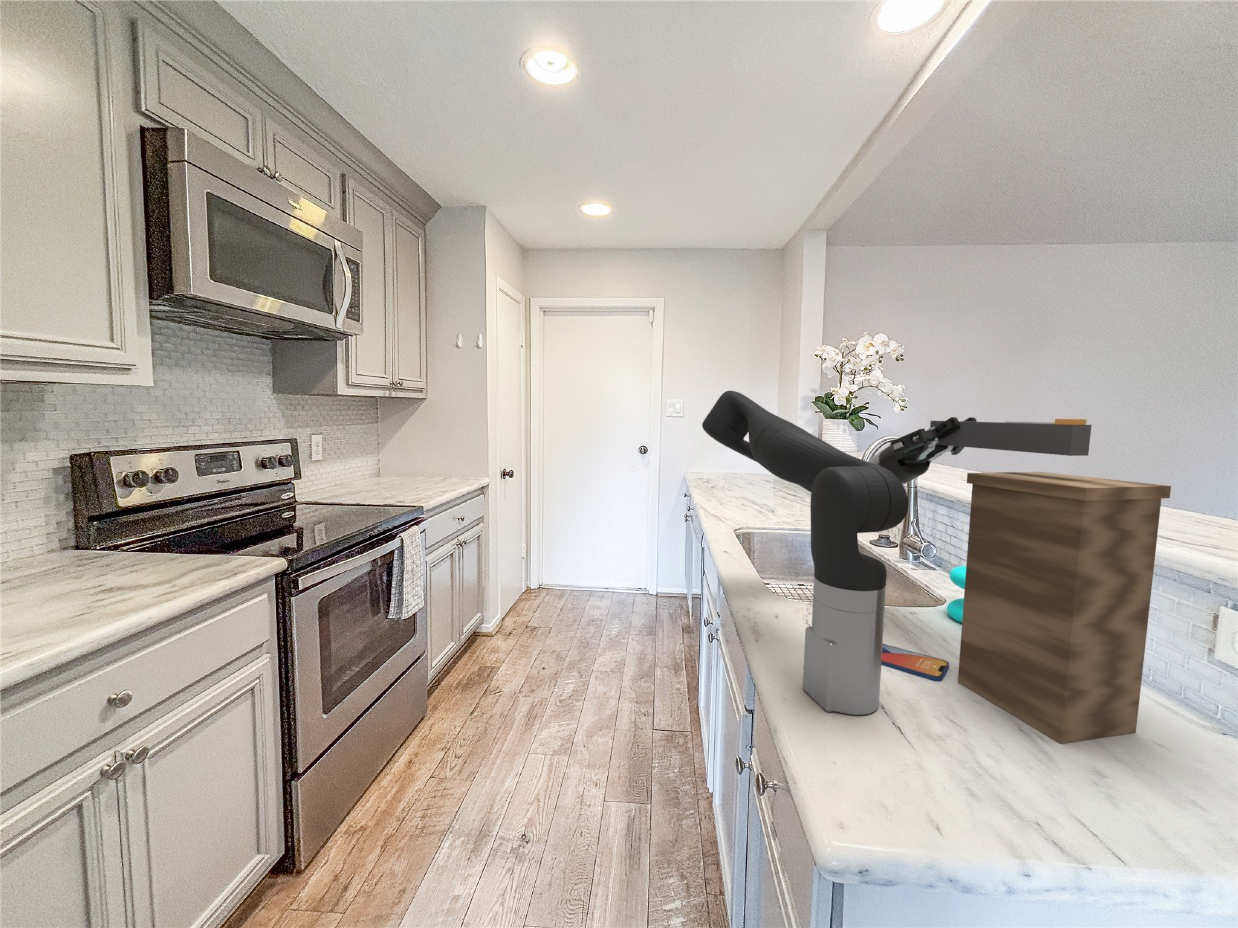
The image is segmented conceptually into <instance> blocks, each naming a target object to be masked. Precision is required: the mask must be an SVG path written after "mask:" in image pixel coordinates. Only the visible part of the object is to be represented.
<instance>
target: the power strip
mask: <svg viewBox="0 0 1238 928" xmlns="http://www.w3.org/2000/svg"><path fill="white" fill-rule="evenodd" d="M945 421H946V420H930V424H929V425H930V426H929V428H931V427H937V426H938V425H940V424H941V423H943V422H945ZM1087 421H1088V420H1087V418H1086V419H1084V418H1083V419H1082V418H1055V419H1054V421H1053V422H1052V421H1051V422H1050V421H1049V422H1048V421H1047V422H1045V421H1041V422H1040V421H1009V420H1008V421H1007V420H1006V421H1005V422H1004V421H1002V422H1000V421H999V422H998V421H977V422H969V421H964V420H962V421H961V420H958V422H959V425H960V429H959V430H957V431H955V432H954V433H952V434H950V435H949V436H947V437H946V438H944V439H941V441H940V442H938V443H937V444H936V445H948V446H960V447H964V448H973V449H984V450H997V451H998V450H999V451H1010V452H1020V453H1021V452H1022V453H1023V452H1024V453H1031V454H1032V453H1035V454H1045V455H1055V456H1056V455H1059V456H1071V457H1072V456H1075V457H1076V456H1077V457H1078V456H1080V457H1082V456H1083V457H1085V456H1087V457H1088V456H1089V453H1090V452H1089V450H1090V443H1091V442H1090V441H1091V432H1092V425H1093V424H1087Z"/></svg>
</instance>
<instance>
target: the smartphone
mask: <svg viewBox="0 0 1238 928" xmlns="http://www.w3.org/2000/svg"><path fill="white" fill-rule="evenodd" d="M881 666H884V667H888V668H891V669H894V670H896V671H901V672H903V673H907V674H910V675H912V676H916V677H918V678H919V677H920V678H923V679H926V680H930V681H931V682H932V681H933V682H942V681H943V679H944V678H945V676H946V674H947V673H948V671H949V669H950V662H948V661H947V660H945V659H941V658H937V657H934V656H930V655H927V654H924V653H920V652H916V651H911V650H908V649H904V648H900V647H896V646H892V645H889V644H886V643H885V644H884V643H883V645H882V662H881Z"/></svg>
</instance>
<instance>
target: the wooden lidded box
mask: <svg viewBox="0 0 1238 928" xmlns="http://www.w3.org/2000/svg"><path fill="white" fill-rule="evenodd" d="M966 475H967V476H966V483H967V484H969V485H972V486H971V487H972V488H971V499H970V511H969V512H970V513H969V514H970V515H969V525H968V527H969V528H968V539H967V541H968V542H967V553H966V554H967V555H966V565H965V566H966V578H965V590H964V591H963V592H964V593H963V594H964V595H963V598H964V605H963V618H962V623H961V633H960V634H961V636H960V648H959V662H958V675H957V683H958V684H961V685H962V686H963V687H965V688H966V689H968V690H970V691H972V692H973V693H975V694H977V695H978V696H980V697H982V698H984V699H985V700H987V701H989V702H990V703H992V704H994V705H995V706H997V707H998V708H1000V709H1002V710H1004V711H1005V712H1007V713H1009V714H1010V715H1012V716H1013V717H1015V718H1017V719H1019V720H1020V721H1022V722H1023V723H1025V724H1027V725H1028V726H1030V727H1032V728H1034V729H1035V730H1037V731H1039V732H1040V733H1042V734H1044V735H1045V736H1047V737H1049V738H1050V739H1052V740H1053V741H1055V742H1057V743H1058V744H1061V745H1062V744H1063V745H1064V744H1069V743H1075V742H1082V741H1083V742H1084V741H1087V740H1097V739H1102V738H1109V737H1116V736H1122V735H1128V734H1135V733H1136V732H1137V725H1138V724H1137V723H1138V716H1139V708H1140V707H1139V706H1140V698H1141V688H1142V687H1141V686H1142V679H1143V678H1142V677H1143V670H1144V663H1145V662H1144V661H1145V652H1146V643H1147V634H1148V625H1149V616H1150V606H1151V597H1152V590H1153V589H1152V587H1153V578H1154V569H1155V561H1156V553H1157V552H1156V551H1157V541H1158V535H1159V534H1158V533H1159V524H1160V514H1161V506H1162V499H1171V491H1172V490H1171V489H1172V485H1165V484H1155V483H1147V482H1146V483H1145V482H1140V481H1139V482H1137V481H1129V480H1119V479H1109V478H1102V477H1090V476H1084V475H1083V476H1082V475H1073V474H1062V473H1055V472H1054V473H1053V472H1047V471H1046V472H1044V471H1008V472H1007V471H1006V472H1002V471H1000V472H998V471H996V472H967V474H966Z"/></svg>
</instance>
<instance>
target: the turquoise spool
mask: <svg viewBox="0 0 1238 928" xmlns="http://www.w3.org/2000/svg"><path fill="white" fill-rule="evenodd" d="M965 578H966V565H964V566H963V565H962V566H956V567H954V568H952V569H951V570H950V572H949V579H950V581H951V582H952V583H953V584H954V585H955V586H956V587H959V588H960V589H961V590H964V591H965ZM963 605H964V597H961V598H957V599H953V600H952V601H951V600H950V602H948V605H947V606H946V610H947V611H946V612H947V614H948V615H949V616H950V617H951V618H952V619H953V620H955V621H957V622H958V623H961V624H962V618H963Z"/></svg>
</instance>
